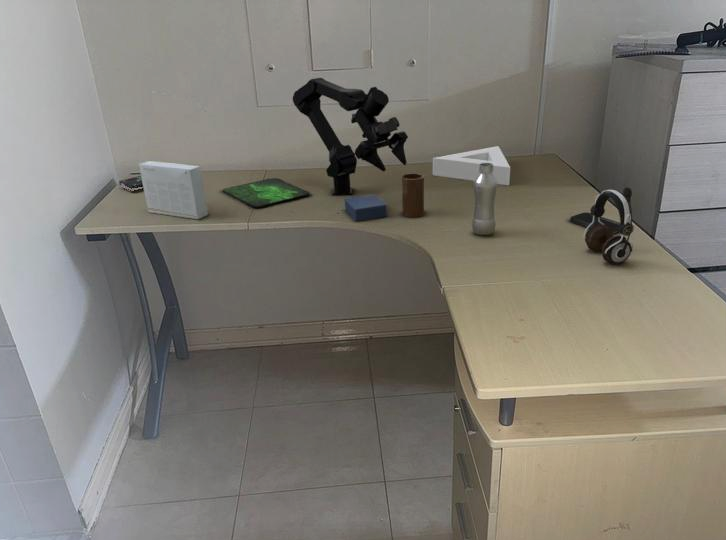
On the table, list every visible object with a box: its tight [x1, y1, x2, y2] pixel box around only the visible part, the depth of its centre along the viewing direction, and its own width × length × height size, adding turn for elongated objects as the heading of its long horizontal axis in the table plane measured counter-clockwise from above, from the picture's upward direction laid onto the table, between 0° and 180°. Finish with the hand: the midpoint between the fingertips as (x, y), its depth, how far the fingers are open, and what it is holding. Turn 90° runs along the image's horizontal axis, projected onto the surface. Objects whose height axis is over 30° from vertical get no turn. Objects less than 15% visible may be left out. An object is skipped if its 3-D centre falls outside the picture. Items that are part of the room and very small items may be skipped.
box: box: [343, 193, 388, 222], centre depth 202 cm, size 11×10×4 cm
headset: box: [583, 186, 635, 265], centre depth 163 cm, size 17×8×20 cm, turn 13°
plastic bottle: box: [471, 163, 498, 236], centre depth 180 cm, size 6×7×20 cm
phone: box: [569, 211, 620, 235], centre depth 188 cm, size 8×1×15 cm
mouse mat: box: [221, 177, 311, 208], centre depth 224 cm, size 27×22×1 cm
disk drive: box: [118, 175, 144, 193], centre depth 235 cm, size 10×3×15 cm
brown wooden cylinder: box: [401, 172, 425, 219], centre depth 198 cm, size 7×7×12 cm
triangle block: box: [432, 145, 511, 186], centre depth 235 cm, size 30×26×6 cm
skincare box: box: [138, 160, 209, 220], centre depth 204 cm, size 21×6×16 cm, turn 65°
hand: (395, 167), depth 199 cm, fingers open, 9 cm apart
